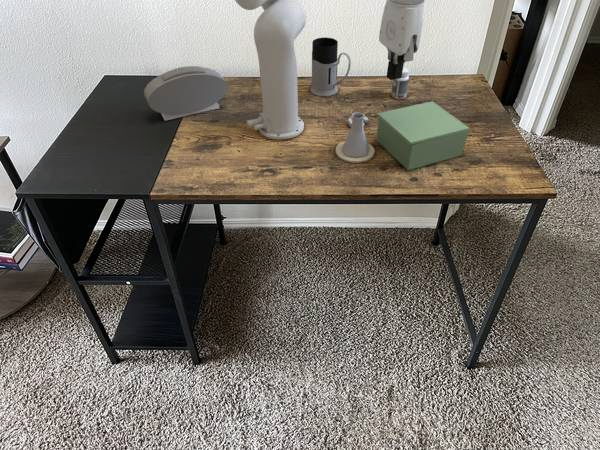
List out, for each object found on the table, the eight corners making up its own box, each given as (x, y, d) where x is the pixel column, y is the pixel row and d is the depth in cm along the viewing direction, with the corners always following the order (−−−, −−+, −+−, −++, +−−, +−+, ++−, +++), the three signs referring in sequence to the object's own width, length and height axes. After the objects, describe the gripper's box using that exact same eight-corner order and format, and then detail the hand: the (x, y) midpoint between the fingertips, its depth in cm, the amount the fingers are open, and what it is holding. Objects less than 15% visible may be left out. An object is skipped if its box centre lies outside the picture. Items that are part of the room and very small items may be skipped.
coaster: (346, 166, 112) (346, 164, 112) (329, 146, 119) (329, 144, 119) (381, 157, 115) (381, 155, 115) (362, 138, 122) (362, 136, 122)
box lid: (410, 145, 106) (410, 142, 105) (377, 115, 116) (377, 113, 115) (468, 130, 110) (469, 127, 110) (432, 103, 121) (432, 101, 120)
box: (407, 170, 111) (412, 145, 106) (376, 140, 121) (379, 116, 116) (462, 155, 115) (468, 130, 110) (427, 127, 126) (432, 103, 121)
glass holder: (323, 81, 148) (323, 34, 138) (357, 94, 141) (360, 46, 131) (304, 90, 144) (304, 42, 134) (338, 104, 136) (340, 55, 126)
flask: (370, 157, 114) (374, 122, 107) (342, 158, 114) (343, 122, 107) (368, 142, 119) (371, 107, 113) (340, 142, 119) (342, 108, 113)
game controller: (359, 132, 124) (359, 123, 123) (326, 119, 130) (326, 110, 128) (371, 123, 127) (372, 115, 126) (338, 111, 133) (339, 103, 131)
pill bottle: (408, 94, 141) (412, 67, 135) (404, 100, 137) (408, 74, 132) (393, 91, 142) (396, 65, 136) (389, 97, 139) (392, 71, 133)
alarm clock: (224, 98, 141) (218, 57, 132) (230, 106, 137) (225, 65, 128) (149, 115, 134) (138, 73, 125) (153, 124, 129) (142, 82, 121)
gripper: (373, -14, 99) (364, 67, 112) (411, 7, 89) (396, 94, 102) (403, -17, 101) (391, 63, 114) (443, 3, 91) (424, 88, 104)
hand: (393, 77), depth 108 cm, fingers closed
